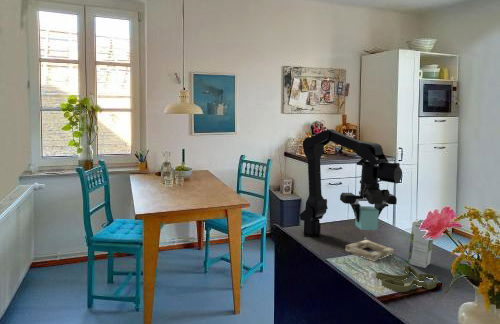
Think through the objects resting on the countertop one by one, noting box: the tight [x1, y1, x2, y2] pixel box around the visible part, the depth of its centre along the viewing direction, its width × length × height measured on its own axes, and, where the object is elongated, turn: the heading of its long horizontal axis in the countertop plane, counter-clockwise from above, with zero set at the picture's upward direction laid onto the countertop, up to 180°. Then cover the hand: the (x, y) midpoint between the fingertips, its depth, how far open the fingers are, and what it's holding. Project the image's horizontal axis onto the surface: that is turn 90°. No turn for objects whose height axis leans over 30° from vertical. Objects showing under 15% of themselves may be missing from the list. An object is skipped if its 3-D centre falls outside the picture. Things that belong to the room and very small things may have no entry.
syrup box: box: [407, 218, 434, 269], centre depth 124 cm, size 6×6×14 cm
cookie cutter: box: [375, 265, 438, 293], centre depth 111 cm, size 18×12×2 cm, turn 116°
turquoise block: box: [354, 205, 380, 231], centre depth 134 cm, size 6×6×7 cm
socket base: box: [344, 236, 395, 262], centre depth 135 cm, size 13×13×2 cm
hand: (366, 221), depth 134 cm, fingers closed on turquoise block, 6 cm apart
